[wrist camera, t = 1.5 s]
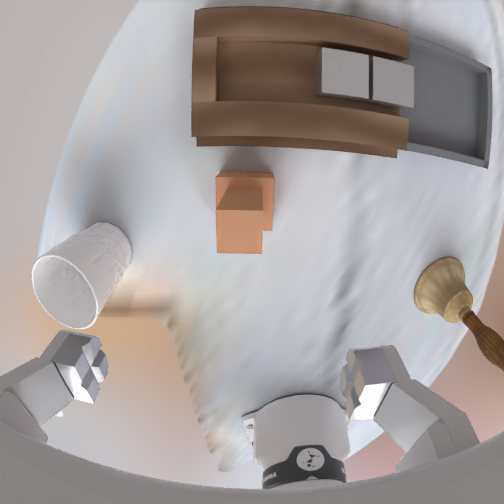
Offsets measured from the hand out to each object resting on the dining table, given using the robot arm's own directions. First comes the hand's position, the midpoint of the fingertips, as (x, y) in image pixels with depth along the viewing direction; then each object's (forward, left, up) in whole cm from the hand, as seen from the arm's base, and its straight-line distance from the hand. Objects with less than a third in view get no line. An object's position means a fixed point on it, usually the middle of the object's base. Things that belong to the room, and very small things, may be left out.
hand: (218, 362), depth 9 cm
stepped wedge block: (0, 0, -22) cm, 22 cm away
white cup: (-6, +16, -22) cm, 28 cm away
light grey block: (+12, -8, -20) cm, 25 cm away
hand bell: (-10, -25, -22) cm, 35 cm away
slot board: (+12, -5, -22) cm, 25 cm away
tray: (+12, -20, -22) cm, 32 cm away
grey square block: (+12, -12, -20) cm, 27 cm away
